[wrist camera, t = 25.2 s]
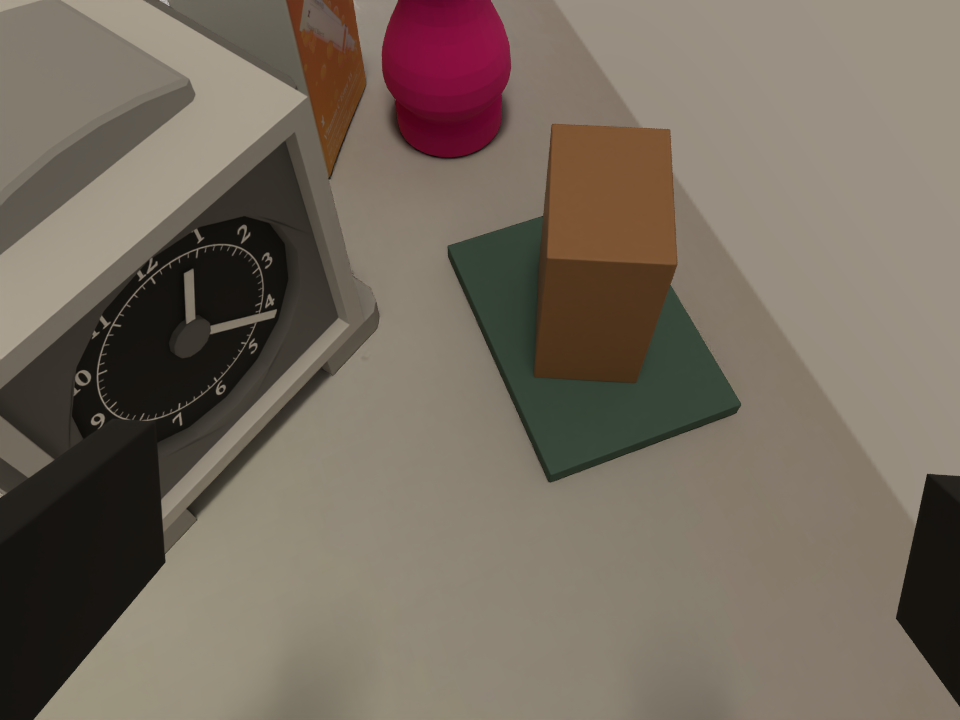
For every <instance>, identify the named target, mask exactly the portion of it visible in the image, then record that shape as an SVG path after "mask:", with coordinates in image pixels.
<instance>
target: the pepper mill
mask: <svg viewBox="0 0 960 720" xmlns="http://www.w3.org/2000/svg"><path fill="white" fill-rule="evenodd" d="M382 71H383V77H384V80H385V83H386V85H387V88H388V90H389V91H390V92H391V94H392V95H393V97H394V98H395V99H396V110H397V118H398V125H399V128H400V131H401V133H402V135H403V137H404V138H405V139H406V140H407V142H408V143H410V144H411V145H412V146H413V147H414V148H416V149H418V150H420V151H422V152H424V153H426V154H430V155H434V156H439V157H457V156H464V155H467V154H470V153H472V152H475V151H477V150H480V149H481V148H483V147H484V146H485V145H486V144H488V143H489V142H490V141H491V140H492V139H493V138H494V136H495V135H496V134H497V132H498V130H499V128H500V124H501V112H502V97H501V93H502V92H503V90H504V89H505V87H506V85H507V82H508V80H509V76H510V71H511V58H510V46H509V42H508V38H507V35H506V32H505V29H504V25H503V23H502V21H501V19H500V17H499V15H498V13H497V11H496V9H495V8H494V6H493V4H492V2H491V0H398V2H397V5H396V7H395V9H394V11H393V14H392V16H391V18H390V21H389V24H388V26H387V30H386V34H385V37H384V42H383V46H382Z"/></svg>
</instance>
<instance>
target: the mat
mask: <svg viewBox="0 0 960 720" xmlns="http://www.w3.org/2000/svg"><path fill="white" fill-rule="evenodd" d="M542 224H543V216H541V217H538V218H535V219H532V220H529V221H526V222H522V223H519V224H516V225H513V226H510V227H506V228H503V229H500V230H497V231H494V232H491V233H487V234H484V235H481V236H478V237H475V238H471V239H468V240H465V241H462V242H459V243H456V244H452V245H449V246H448V257H449V259H450V262H451V264H452V266H453V268H454V271H455V273H456V275H457V277H458V279H459V282H460V284H461V286H462V288H463V291H464V293H465V295H466V297H467V300H468V302H469V304H470V306H471V309H472V311H473V313H474V315H475V317H476V320H477V322H478V324H479V326H480V329H481V331H482V333H483V335H484V338H485V340H486V342H487V344H488V347H489V349H490V351H491V353H492V356H493V358H494V360H495V362H496V364H497V367H498V369H499V371H500V373H501V376H502V378H503V380H504V382H505V385H506V387H507V389H508V391H509V394H510V396H511V398H512V400H513V403H514V405H515V407H516V409H517V411H518V414H519V416H520V418H521V420H522V423H523V425H524V427H525V429H526V432H527V434H528V436H529V438H530V441H531V443H532V445H533V447H534V450H535V452H536V454H537V456H538V458H539V461H540V463H541V465H542V467H543V470H544V472H545V474H546V476H547V479H548V481H549V482H552V481H555V480H557V479H560V478H563V477H566V476H568V475H571V474H574V473H576V472H579V471H582V470H584V469H587V468H590V467H592V466H595V465H598V464H600V463H603V462H606V461H609V460H611V459H614V458H617V457H619V456H622V455H625V454H627V453H630V452H633V451H635V450H638V449H641V448H643V447H646V446H649V445H652V444H654V443H657V442H660V441H662V440H665V439H668V438H670V437H673V436H676V435H678V434H681V433H684V432H686V431H689V430H692V429H695V428H697V427H700V426H703V425H705V424H708V423H711V422H713V421H716V420H719V419H721V418H724V417H727V416H729V415H732V414H735V413H736V412H737V411H738V409H739V407H740V406H741V403H740V401H739V400H738V398H737V396H736V395H735V393H734V391H733V389H732V388H731V386H730V384H729V383H728V381H727V379H726V378H725V376H724V374H723V373H722V371H721V369H720V368H719V366H718V364H717V362H716V361H715V359H714V357H713V356H712V354H711V352H710V351H709V349H708V347H707V346H706V344H705V342H704V341H703V339H702V337H701V336H700V334H699V332H698V330H697V329H696V327H695V325H694V324H693V322H692V320H691V319H690V317H689V315H688V314H687V312H686V310H685V309H684V307H683V305H682V304H681V302H680V300H679V298H678V297H677V295H676V293H675V292H674V290H673V288H672V287H671V285H670V287H669V290H668V293H667V296H666V299H665V302H664V304H663V307H662V310H661V313H660V316H659V319H658V322H657V325H656V327H655V330H654V333H653V336H652V339H651V342H650V345H649V348H648V351H647V353H646V356H645V359H644V362H643V365H642V368H641V371H640V374H639V376H638V379H637V382H636V383H624V382H607V381H590V380H573V379H556V378H539V377H534V364H535V342H536V319H537V296H538V274H539V256H540V246H541V235H542Z"/></svg>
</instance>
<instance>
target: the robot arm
mask: <svg viewBox="0 0 960 720" xmlns="http://www.w3.org/2000/svg"><path fill="white" fill-rule="evenodd" d="M164 563H165V549H164V534H163V520H162V505H161V490H160V476H159V461H158V447H157V432H156V421H142V420H127V419H112V420H110V421H109V422H107V423H106V424H104V425H103V426H102V427H100V428H99V429H97V430H96V431H95V432H93V433H92V434H90V435H89V436H87V437H86V438H85V439H83V440H82V441H80V442H79V443H78V444H76V445H75V446H73V447H72V448H70V449H69V450H68V451H66V452H65V453H63V454H62V455H61V456H59V457H58V458H56V459H55V460H53V461H52V462H51V463H49V464H48V465H46V466H45V467H43V468H42V469H41V470H39V471H38V472H36V473H35V474H34V475H32V476H31V477H29V478H28V479H26V480H25V481H24V482H22V483H21V484H19V485H18V486H17V487H15V488H14V489H12V490H11V491H9V492H8V493H7V494H5V495H4V496H2V497H1V498H0V720H34V718H35V717H36V716H37V715H38V714H39V712H40V711H41V710H42V709H43V708H44V706H45V705H46V704H47V703H48V702H49V700H50V699H51V698H52V697H53V696H54V695H55V693H56V692H57V691H58V690H59V689H60V687H61V686H62V685H63V684H64V683H65V681H66V680H67V679H68V678H69V677H70V675H71V674H72V673H73V672H74V671H75V669H76V668H77V667H78V666H79V665H80V664H81V662H82V661H83V660H84V659H85V658H86V656H87V655H88V654H89V653H90V652H91V650H92V649H93V648H94V647H95V646H96V644H97V643H98V642H99V641H100V640H101V638H102V637H103V636H104V635H105V634H106V632H107V631H108V630H109V629H110V628H111V627H112V625H113V624H114V623H115V622H116V621H117V619H118V618H119V617H120V616H121V615H122V613H123V612H124V611H125V610H126V609H127V607H128V606H129V605H130V604H131V603H132V601H133V600H134V599H135V598H136V597H137V596H138V594H139V593H140V592H141V591H142V590H143V588H144V587H145V586H146V585H147V584H148V582H149V581H150V580H151V579H152V578H153V576H154V575H155V574H156V573H157V572H158V570H159V569H160V568H161V567H162V566H163V565H164ZM896 619H897V620H898V622H899V623H900V625H901V626H902V627H903V629H904V630H905V632H906V633H907V634H908V636H909V637H910V638H911V640H912V641H913V643H914V644H915V645H916V647H917V648H918V650H919V651H920V652H921V654H922V655H923V656H924V658H925V659H926V661H927V662H928V663H929V665H930V666H931V668H932V669H933V670H934V672H935V673H936V674H937V676H938V677H939V679H940V680H941V681H942V683H943V684H944V686H945V687H946V688H947V690H948V691H949V692H950V694H951V695H952V697H953V698H954V699H955V701H956V702H957V704H958V705H959V706H960V476H948V475H935V474H927V477H926V481H925V486H924V491H923V495H922V500H921V505H920V510H919V514H918V519H917V523H916V528H915V532H914V537H913V542H912V546H911V551H910V555H909V560H908V565H907V569H906V574H905V579H904V583H903V588H902V592H901V597H900V602H899V606H898V611H897V616H896Z"/></svg>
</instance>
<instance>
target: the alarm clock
mask: <svg viewBox="0 0 960 720" xmlns="http://www.w3.org/2000/svg"><path fill="white" fill-rule="evenodd" d="M378 321H379V313H378V308H377V303H376V300H375V297H374V295H373V292H372V290H371V288H370V287H368V286H367V285H365V284H364V283H362V282H361V281H359V280H358V279H356V278H355V277H353V275H352V271H351V267H350V263H349V259H348V255H347V251H346V247H345V243H344V239H343V235H342V231H341V227H340V223H339V219H338V216H337V212H336V208H335V204H334V200H333V196H332V192H331V188H330V184H329V180H328V176H327V172H326V168H325V164H324V160H323V156H322V152H321V148H320V144H319V140H318V136H317V132H316V128H315V124H314V120H313V116H312V112H311V108H310V104H309V100H308V97H307V96H306V95H304V94H302V93H301V92H299V91H298V88H297V85H296V84H295V82H294V81H293V79H292V78H291V77H290V76H288V75H287V74H285V73H283V72H281V71H280V70H278V69H276V68H275V67H273V66H271V65H269V64H268V63H266V62H264V61H263V60H261V59H259V58H257V57H256V56H254V55H252V54H250V53H249V52H247V51H245V50H244V49H242V48H240V47H238V46H237V45H235V44H233V43H232V42H230V41H228V40H226V39H225V38H223V37H221V36H220V35H218V34H216V33H214V32H213V31H211V30H209V29H207V28H206V27H204V26H202V25H201V24H199V23H197V22H195V21H194V20H192V19H190V18H189V17H187V16H185V15H183V14H182V13H180V12H178V11H177V10H175V9H173V8H171V7H170V6H168V5H166V4H164V3H163V2H161V1H159V0H0V493H2V494H3V495H5V494H7V493H8V492H9V491H11V490H12V489H14V488H15V487H17V486H18V485H19V484H21V483H22V482H24V481H25V480H26V479H28V478H29V477H31V476H32V475H34V474H35V473H36V472H38V471H39V470H41V469H42V468H43V467H45V466H46V465H48V464H49V463H51V462H52V461H53V460H55V459H56V458H58V457H59V456H61V455H62V454H63V453H65V452H66V451H68V450H69V449H70V448H72V447H73V446H75V445H76V444H78V443H79V442H80V441H82V440H83V439H85V438H86V437H87V436H89V435H90V434H92V433H93V432H95V431H96V430H97V429H99V428H100V427H102V426H103V425H104V424H106V423H107V422H109V421H110V420H112V419H127V420H142V421H156V432H157V447H158V461H159V476H160V490H161V505H162V520H163V534H164V549H165V553H166V552H167V551H168V550H169V549H170V548H171V547H172V546H173V545H174V544H175V543H176V541H177V540H178V539H179V538H180V537H181V536H182V535H183V534H184V533H185V532H186V531H187V530H188V529H189V528H190V527H191V526H192V524H193V523H194V522H195V521H196V520H197V519H196V518H195V517H194V516H193V515H192V514H191V513H190V512H189V511H188V510H187V509H186V508H187V507H188V506H189V505H190V504H191V503H192V502H193V501H194V500H195V499H196V498H197V497H198V496H199V495H200V494H201V493H202V491H203V490H204V489H205V488H206V487H207V486H208V485H209V484H210V483H211V482H212V481H213V480H214V479H215V478H216V477H217V476H218V475H219V474H220V473H221V472H222V471H223V469H224V468H225V467H226V466H227V465H228V464H229V463H230V462H231V461H232V460H233V459H234V458H235V457H236V456H237V455H238V454H239V453H240V452H241V451H242V450H243V448H244V447H245V446H246V445H247V444H248V443H249V442H250V441H251V440H252V439H253V438H254V437H255V436H256V435H257V434H258V433H259V432H260V431H261V430H262V429H263V428H264V426H265V425H266V424H267V423H268V422H269V421H270V420H271V419H272V418H273V417H274V416H275V415H276V414H277V413H278V412H279V411H280V410H281V409H282V408H283V407H284V406H285V404H286V403H287V402H288V401H289V400H290V399H291V398H292V397H293V396H294V395H295V394H296V393H297V392H298V391H299V390H300V389H301V388H302V387H303V386H304V385H305V383H306V382H307V381H308V380H309V379H310V378H311V377H312V376H313V375H314V374H315V373H316V372H317V371H318V370H319V369H320V368H322V369H324V370H325V371H327V372H328V373H329V374H331V375H332V376H333V375H334V374H335V373H336V371H337V370H338V369H339V368H340V367H341V366H342V365H343V364H344V363H345V362H346V361H347V360H348V359H349V358H350V357H351V355H352V354H353V353H354V352H355V351H356V350H357V349H358V348H359V347H360V346H361V345H362V344H363V343H364V342H365V341H366V340H367V338H368V337H369V336H370V335H371V334H372V333H373V332H374V331H375V330H376V329H377V326H378Z"/></svg>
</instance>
